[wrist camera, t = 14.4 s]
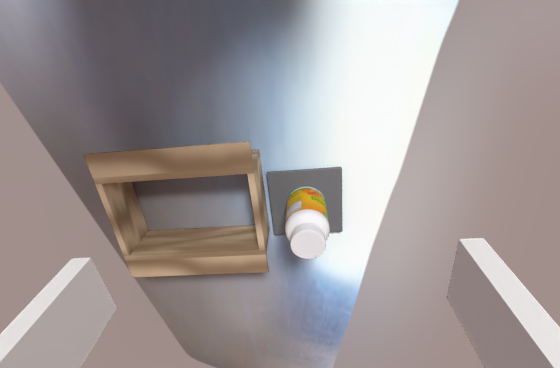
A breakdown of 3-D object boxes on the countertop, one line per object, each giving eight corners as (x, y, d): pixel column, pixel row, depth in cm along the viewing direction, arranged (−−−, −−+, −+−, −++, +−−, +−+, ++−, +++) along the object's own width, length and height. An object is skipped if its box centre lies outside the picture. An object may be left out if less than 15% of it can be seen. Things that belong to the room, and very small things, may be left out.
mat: (267, 171, 42) (266, 173, 41) (341, 166, 41) (341, 168, 40) (274, 232, 46) (274, 234, 46) (341, 229, 45) (342, 231, 45)
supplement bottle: (333, 204, 43) (342, 247, 34) (304, 225, 45) (305, 271, 36) (308, 177, 41) (310, 216, 33) (278, 201, 43) (274, 243, 34)
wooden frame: (111, 139, 41) (83, 154, 36) (256, 127, 39) (249, 142, 34) (150, 250, 49) (132, 277, 44) (271, 245, 47) (268, 272, 42)
